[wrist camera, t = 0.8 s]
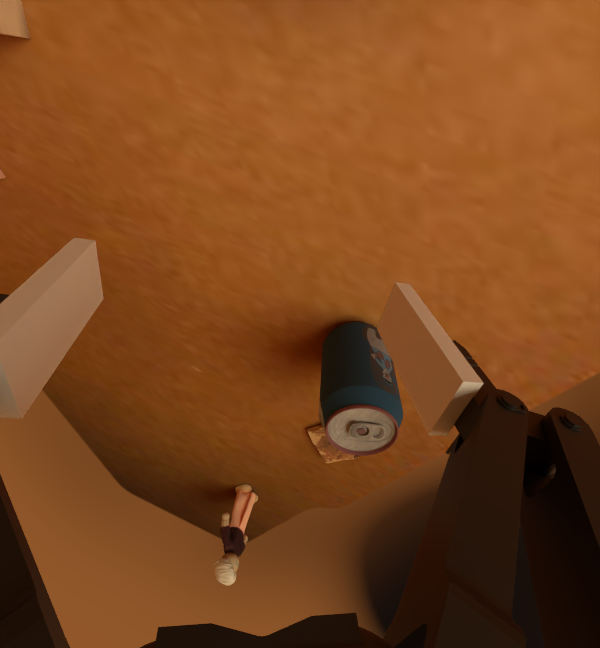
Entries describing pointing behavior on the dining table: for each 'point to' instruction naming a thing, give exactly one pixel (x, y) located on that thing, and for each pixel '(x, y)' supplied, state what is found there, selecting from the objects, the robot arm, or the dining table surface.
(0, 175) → the tall block
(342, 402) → the soda can
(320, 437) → the shard
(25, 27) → the tower base block
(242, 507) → the grandmother figurine
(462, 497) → the robot arm
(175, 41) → the dining table surface
